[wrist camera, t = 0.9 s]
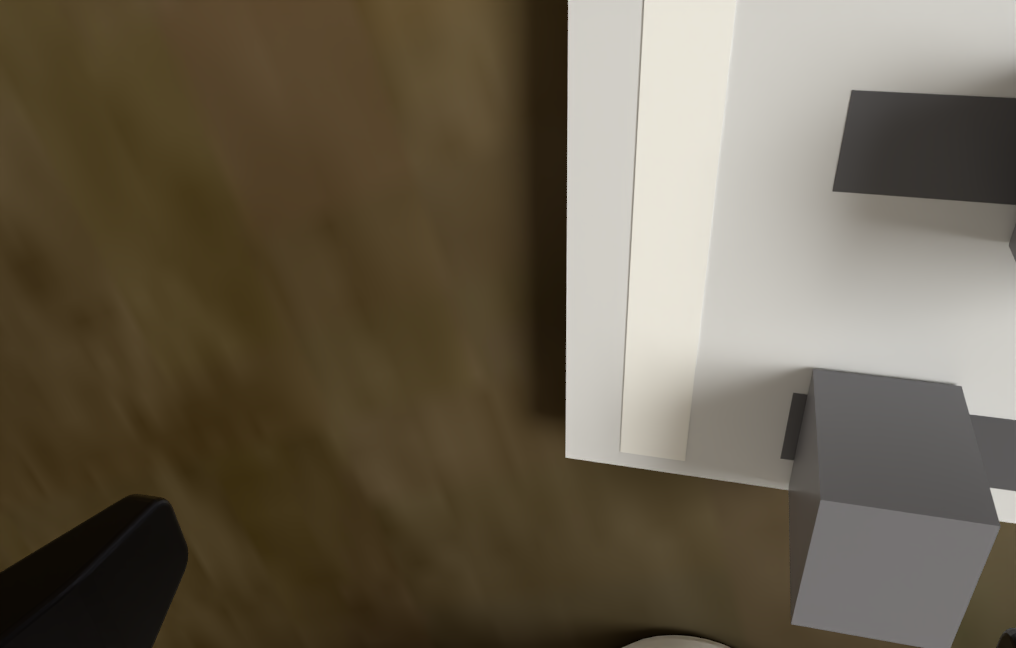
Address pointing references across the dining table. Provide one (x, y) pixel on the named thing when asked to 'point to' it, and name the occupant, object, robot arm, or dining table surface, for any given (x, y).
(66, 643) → the robot arm
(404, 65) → the dining table surface
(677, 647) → the cup
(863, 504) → the block
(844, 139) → the panel
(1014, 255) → the block
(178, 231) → the dining table surface
